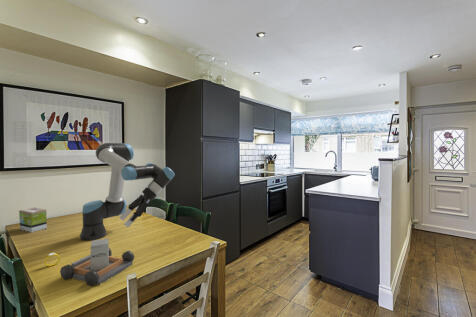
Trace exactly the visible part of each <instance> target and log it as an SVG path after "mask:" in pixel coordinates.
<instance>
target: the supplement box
mask: <svg viewBox="0 0 476 317" xmlns="http://www.w3.org/2000/svg"><path fill="white" fill-rule="evenodd" d="M90 242H91V243H90V254H91V270H95V271H98V270H102V269H104V268H106V267H108V257H109V253H108V247H109V238H104V239H102V238H100V239H95V240H90Z"/></svg>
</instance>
